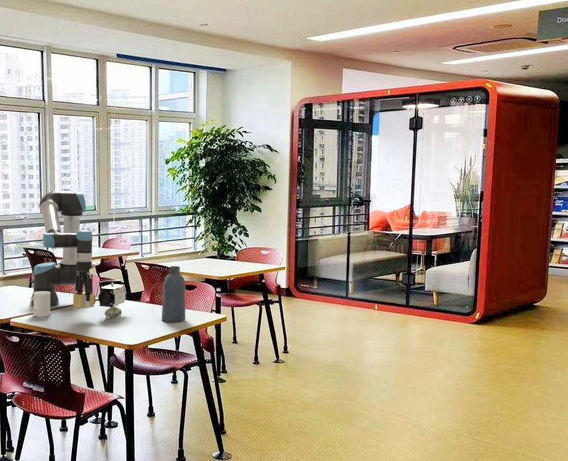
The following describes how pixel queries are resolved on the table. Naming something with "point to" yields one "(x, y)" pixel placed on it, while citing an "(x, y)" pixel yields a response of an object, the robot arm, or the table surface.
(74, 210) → the robot arm
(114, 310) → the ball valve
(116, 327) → the table surface
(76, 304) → the tan block
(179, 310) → the gray bottle
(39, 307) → the mug
